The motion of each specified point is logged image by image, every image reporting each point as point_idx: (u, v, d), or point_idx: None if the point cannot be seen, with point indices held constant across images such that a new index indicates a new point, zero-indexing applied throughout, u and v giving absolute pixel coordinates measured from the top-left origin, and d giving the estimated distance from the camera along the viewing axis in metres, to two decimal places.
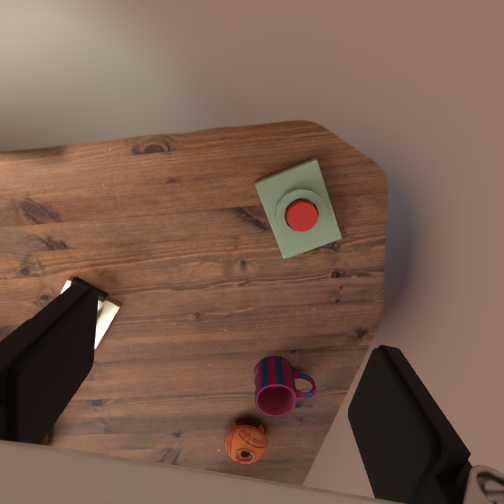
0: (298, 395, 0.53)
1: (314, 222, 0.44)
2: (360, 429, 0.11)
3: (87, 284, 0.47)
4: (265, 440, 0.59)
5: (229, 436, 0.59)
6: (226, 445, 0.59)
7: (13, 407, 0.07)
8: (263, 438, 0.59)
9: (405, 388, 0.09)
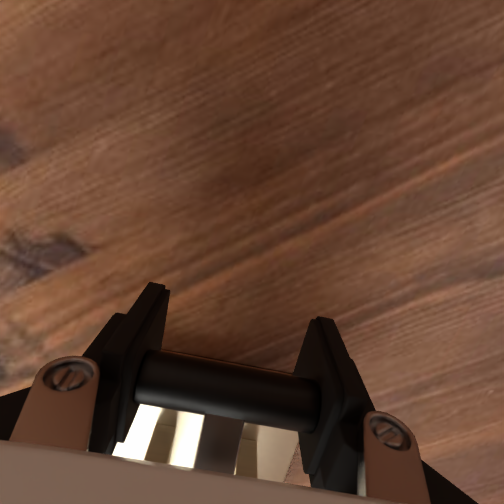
0: None
1: None
2: None
3: (214, 371, 0.09)
4: None
5: None
6: None
7: (126, 387, 0.08)
8: None
9: (327, 350, 0.10)
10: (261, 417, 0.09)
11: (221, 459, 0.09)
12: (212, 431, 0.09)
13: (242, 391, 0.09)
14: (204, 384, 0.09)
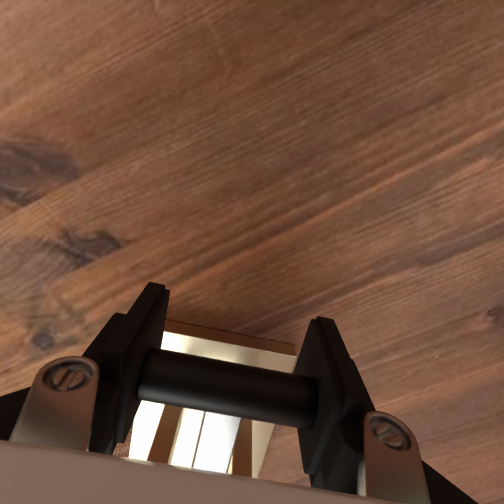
0: None
1: None
2: None
3: (212, 378, 0.09)
4: None
5: None
6: None
7: (125, 387, 0.08)
8: None
9: (327, 350, 0.10)
10: (257, 419, 0.09)
11: (221, 444, 0.10)
12: (212, 424, 0.09)
13: (239, 399, 0.09)
14: (202, 392, 0.09)
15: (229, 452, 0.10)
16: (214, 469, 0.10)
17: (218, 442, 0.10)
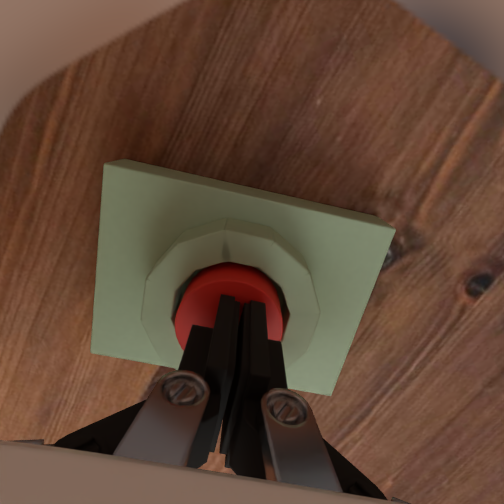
0: None
1: (269, 306, 0.12)
2: None
3: None
4: None
5: None
6: None
7: (223, 399, 0.08)
8: None
9: (248, 331, 0.10)
10: None
11: None
12: None
13: None
14: None
15: None
16: None
17: None
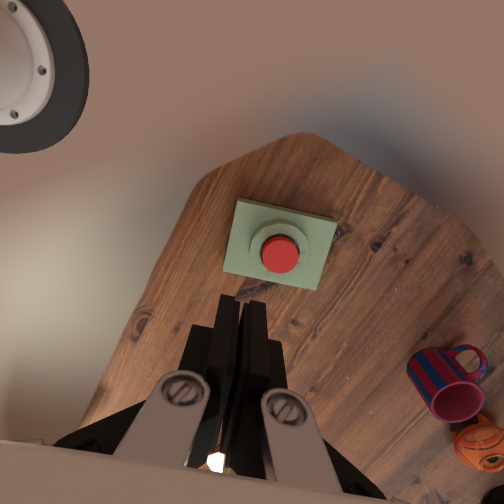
0: (473, 378, 0.41)
1: (294, 249, 0.36)
2: None
3: None
4: (497, 431, 0.47)
5: (459, 454, 0.49)
6: (466, 464, 0.49)
7: (223, 399, 0.08)
8: (492, 430, 0.47)
9: (248, 331, 0.10)
10: None
11: None
12: None
13: None
14: None
15: None
16: None
17: None
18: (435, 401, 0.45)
